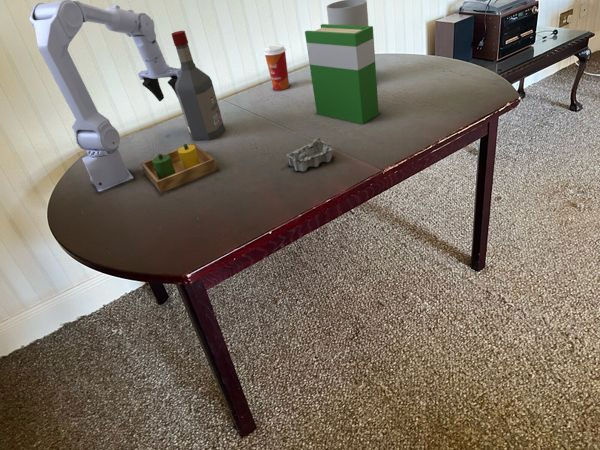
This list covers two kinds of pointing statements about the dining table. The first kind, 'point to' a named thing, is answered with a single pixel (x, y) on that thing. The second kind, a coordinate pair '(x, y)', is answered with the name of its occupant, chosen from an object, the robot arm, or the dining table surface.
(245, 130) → the dining table surface
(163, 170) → the green pepper
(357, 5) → the cylinder vase
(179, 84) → the liquor
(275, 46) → the paper cup
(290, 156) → the egg carton
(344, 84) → the hardback book
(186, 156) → the yellow pepper
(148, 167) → the wooden tray
